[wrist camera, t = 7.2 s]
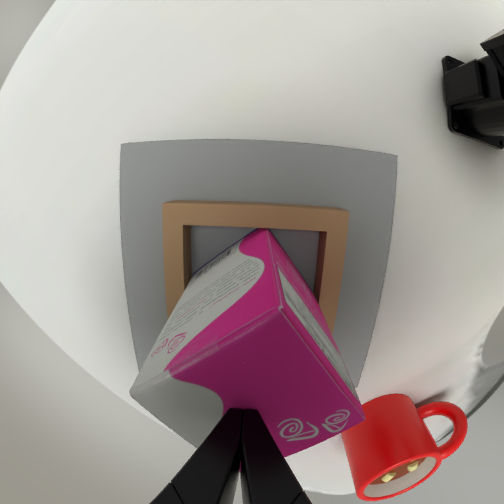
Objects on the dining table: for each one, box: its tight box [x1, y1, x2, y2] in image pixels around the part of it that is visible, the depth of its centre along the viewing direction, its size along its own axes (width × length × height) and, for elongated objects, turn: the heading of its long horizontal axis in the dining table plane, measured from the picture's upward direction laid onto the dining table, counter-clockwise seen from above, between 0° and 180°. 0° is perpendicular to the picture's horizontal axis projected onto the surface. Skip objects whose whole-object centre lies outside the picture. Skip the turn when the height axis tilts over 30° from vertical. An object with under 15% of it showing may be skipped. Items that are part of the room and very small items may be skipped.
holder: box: [120, 139, 397, 388], centre depth 18 cm, size 18×18×3 cm
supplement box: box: [129, 228, 365, 473], centre depth 13 cm, size 6×6×12 cm
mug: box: [341, 394, 468, 501], centre depth 19 cm, size 8×12×8 cm, turn 112°
